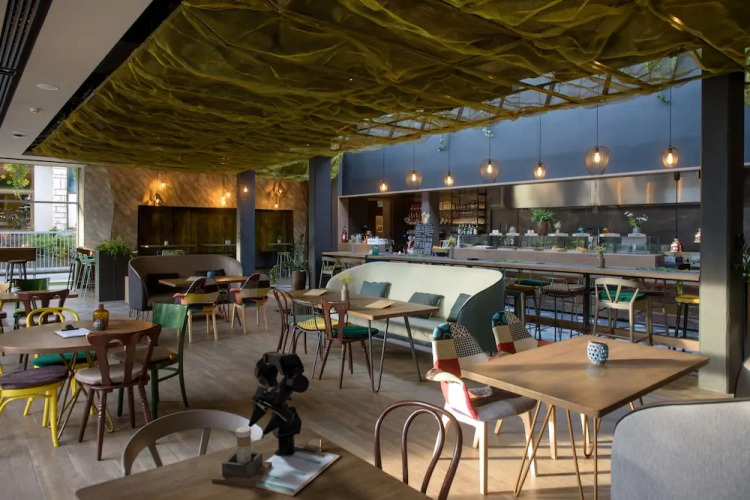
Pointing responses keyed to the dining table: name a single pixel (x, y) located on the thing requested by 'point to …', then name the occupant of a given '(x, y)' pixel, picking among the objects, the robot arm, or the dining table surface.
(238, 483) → the socket board
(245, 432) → the sprinkles bottle
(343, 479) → the dining table surface
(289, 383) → the robot arm
